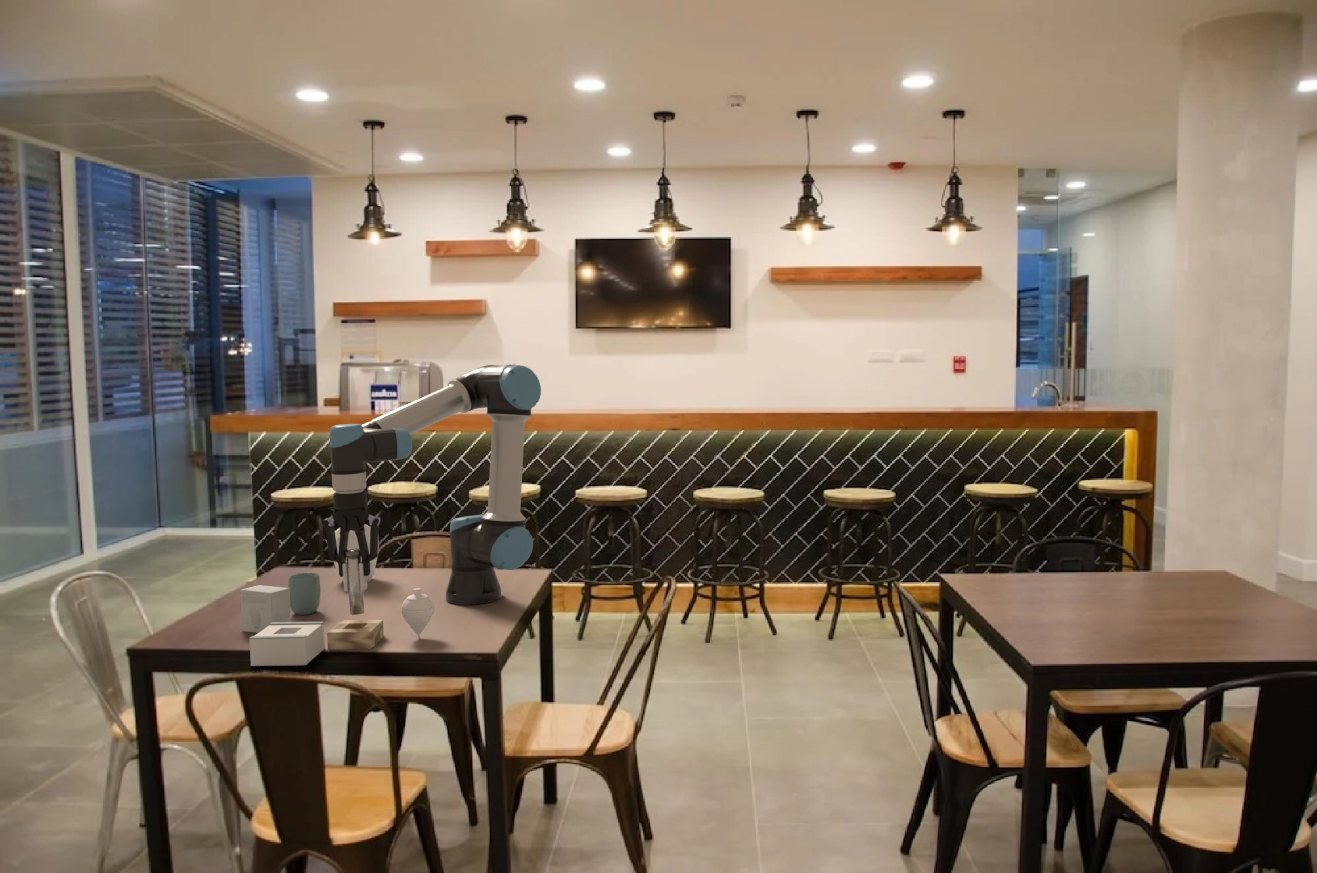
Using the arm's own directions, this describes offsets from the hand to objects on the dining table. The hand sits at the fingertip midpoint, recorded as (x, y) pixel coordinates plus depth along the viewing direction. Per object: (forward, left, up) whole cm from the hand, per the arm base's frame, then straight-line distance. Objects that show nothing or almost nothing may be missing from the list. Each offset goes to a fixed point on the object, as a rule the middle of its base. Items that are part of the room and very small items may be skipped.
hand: (355, 589), depth 221 cm
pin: (0, 0, -6) cm, 6 cm away
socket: (+12, +10, -13) cm, 20 cm away
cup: (+22, -27, -13) cm, 37 cm away
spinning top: (-14, -3, -13) cm, 19 cm away
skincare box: (+26, -12, -13) cm, 32 cm away
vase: (+20, -63, -13) cm, 67 cm away
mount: (0, 0, -13) cm, 13 cm away
